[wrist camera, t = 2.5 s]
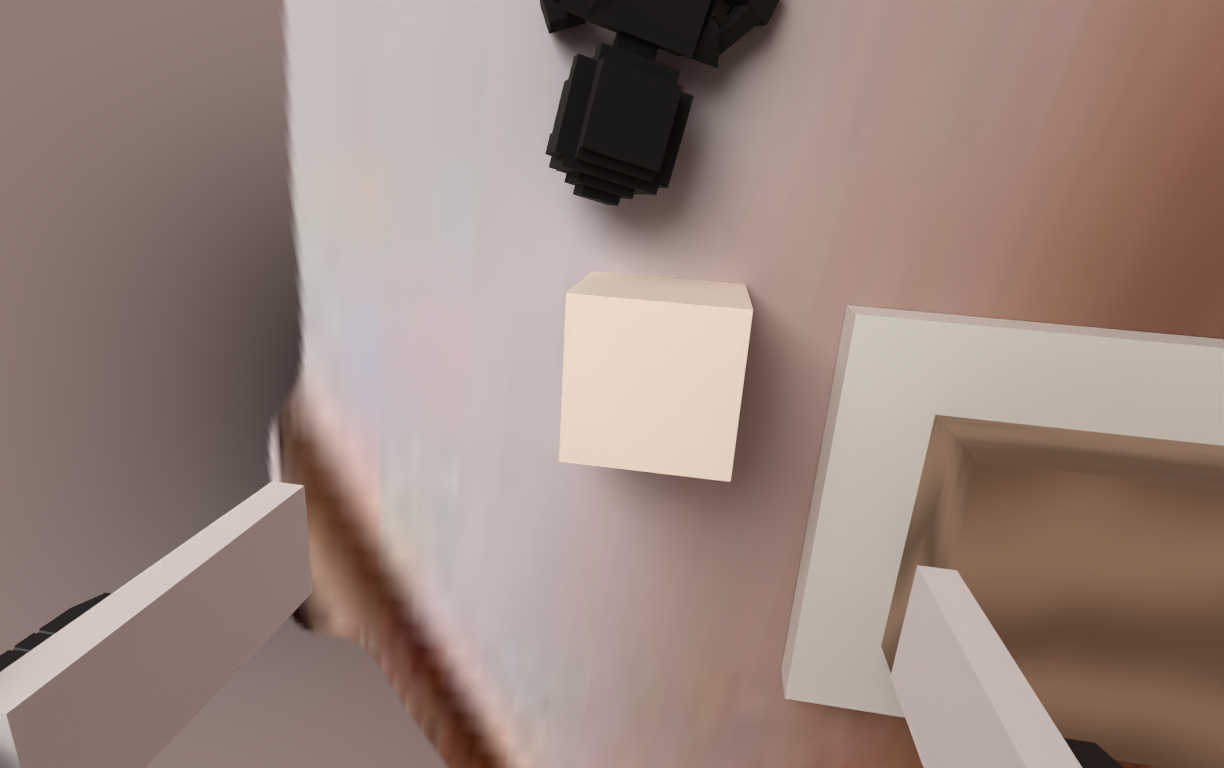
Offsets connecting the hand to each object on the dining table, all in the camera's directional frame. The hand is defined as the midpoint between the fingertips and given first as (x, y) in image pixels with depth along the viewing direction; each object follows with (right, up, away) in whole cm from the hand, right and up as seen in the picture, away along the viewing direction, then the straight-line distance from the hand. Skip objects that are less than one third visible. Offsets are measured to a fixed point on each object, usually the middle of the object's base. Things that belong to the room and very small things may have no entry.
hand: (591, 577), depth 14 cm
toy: (+2, +20, +13) cm, 24 cm away
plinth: (+20, -3, +17) cm, 27 cm away
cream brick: (+3, +6, +17) cm, 18 cm away
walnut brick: (+20, -3, +15) cm, 25 cm away
